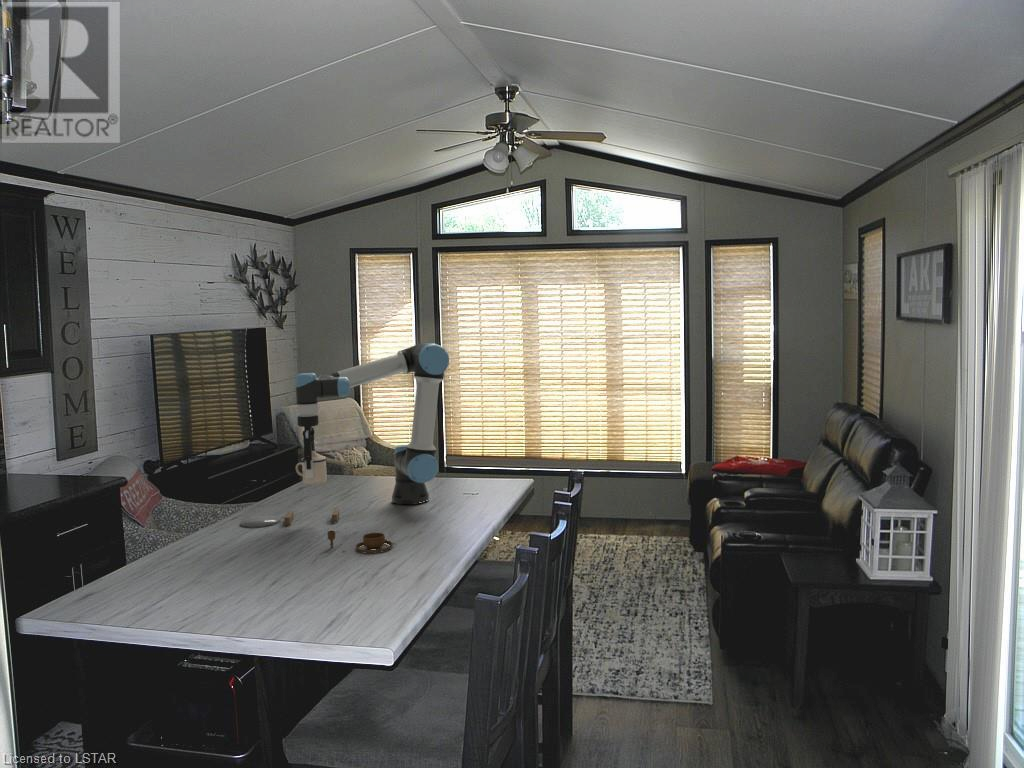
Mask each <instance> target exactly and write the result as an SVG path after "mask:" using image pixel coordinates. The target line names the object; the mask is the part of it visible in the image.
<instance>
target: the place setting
mask: <svg viewBox="0 0 1024 768" xmlns="http://www.w3.org/2000/svg"><path fill="white" fill-rule="evenodd" d="M335 538H336V530H328V531H327V540H329V542H330V544H329V546H330V549H334V541H333V540H335ZM387 540H388V539H386V538H385V533H383V532H370V533H366V534H364V535H363V536H362V541H361V542H358V543H357V544H355V550H356V551H357V552H358V551H359V552H358V553H361V552H366V553H365V554H375V553H374V552H381V551H385V552H387V551H386V550H388V551H390V550H391V549H392V548H393V545H394V544H393V543H392V541H391V540H389V541H387ZM384 543H387V544H389V545H390V546H386V547H383V546H384V545H383V544H384ZM362 545H364V546H363V547H365V548H367V549H363V548H359V547H360V546H362ZM382 547H383V548H382ZM379 548H380V549H379ZM390 548H391V549H390ZM370 549H376V550H370ZM389 549H390V550H389ZM342 552H343V553H345V550H342V551H341V553H342ZM381 553H382V552H381Z"/></svg>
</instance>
